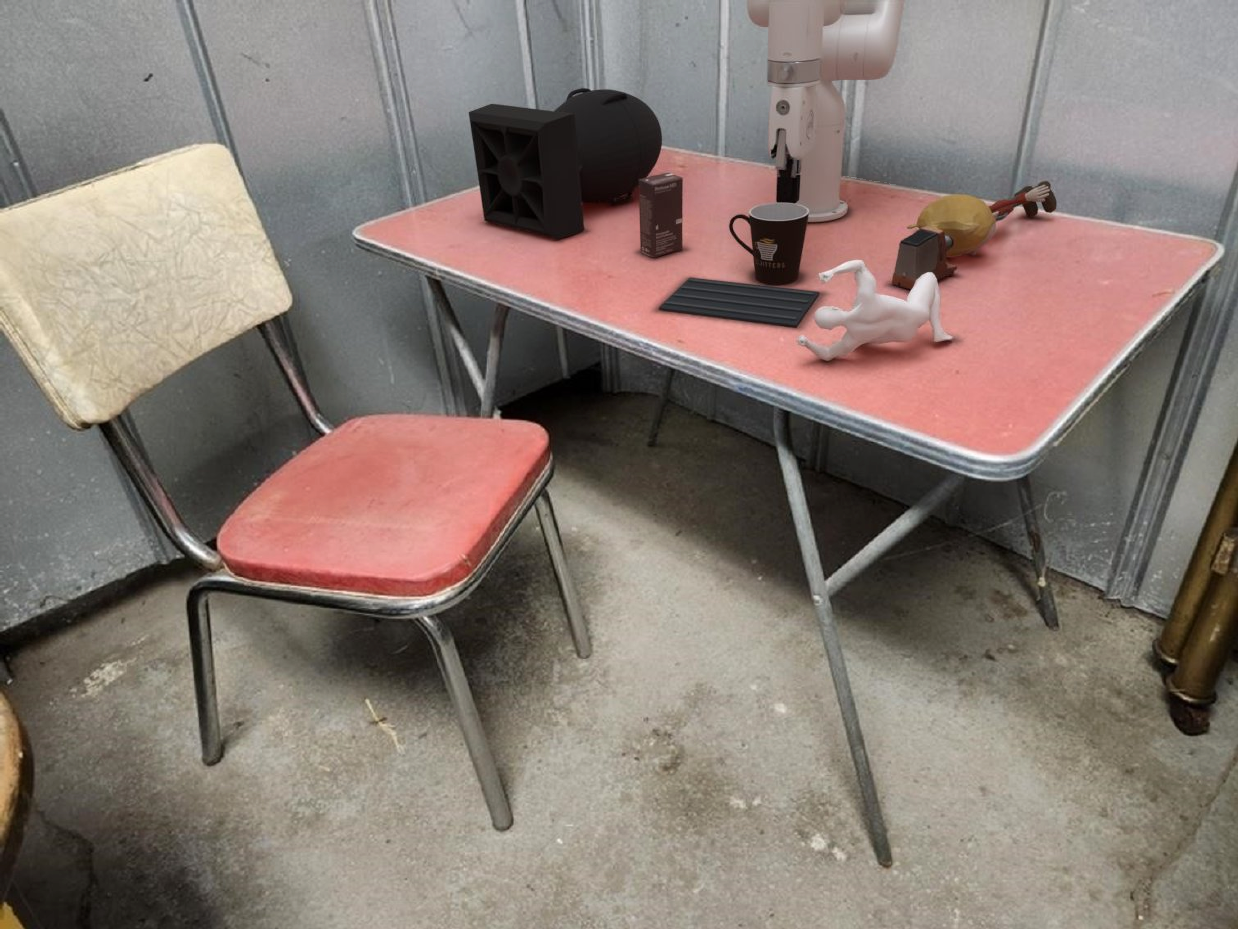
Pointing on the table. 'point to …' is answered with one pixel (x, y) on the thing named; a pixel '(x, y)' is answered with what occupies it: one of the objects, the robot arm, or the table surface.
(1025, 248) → the table surface
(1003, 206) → the toy
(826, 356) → the person figurine
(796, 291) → the drying mat
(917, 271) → the electronic device
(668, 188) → the box
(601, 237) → the table surface
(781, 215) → the coffee mug
